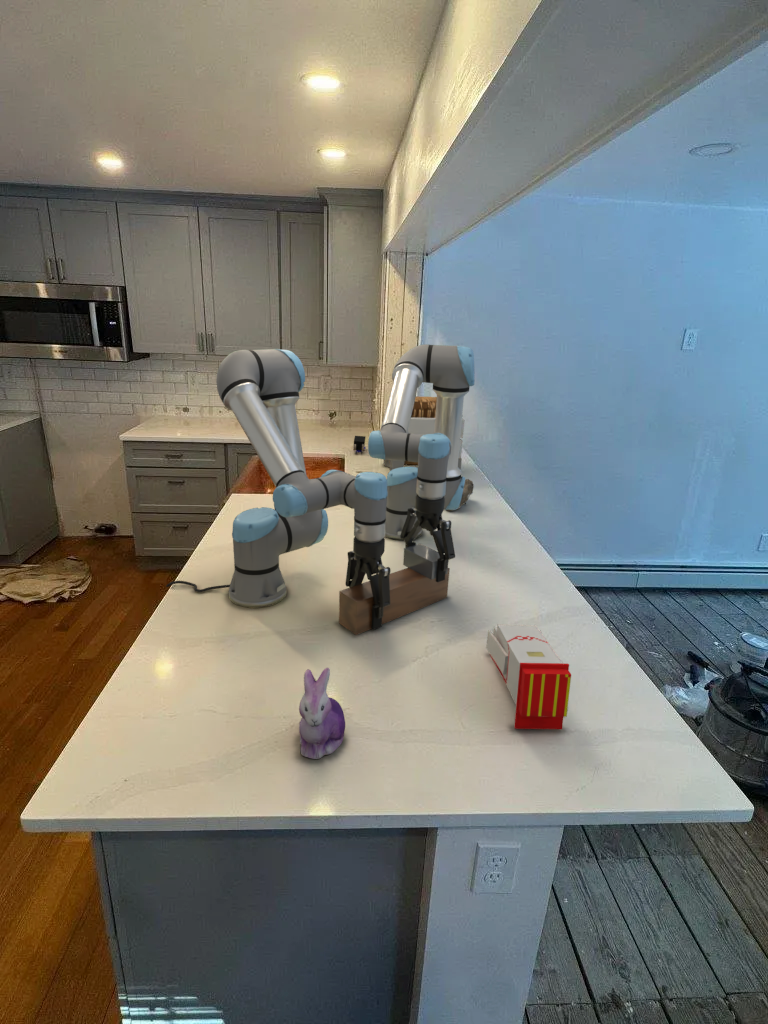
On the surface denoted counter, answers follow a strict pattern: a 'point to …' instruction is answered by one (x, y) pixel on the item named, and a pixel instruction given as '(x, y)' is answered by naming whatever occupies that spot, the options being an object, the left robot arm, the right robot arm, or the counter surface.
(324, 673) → the figurine
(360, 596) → the walnut stand
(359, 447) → the figurine character
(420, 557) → the grey block
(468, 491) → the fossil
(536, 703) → the toy
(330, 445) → the counter surface
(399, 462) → the transformer
